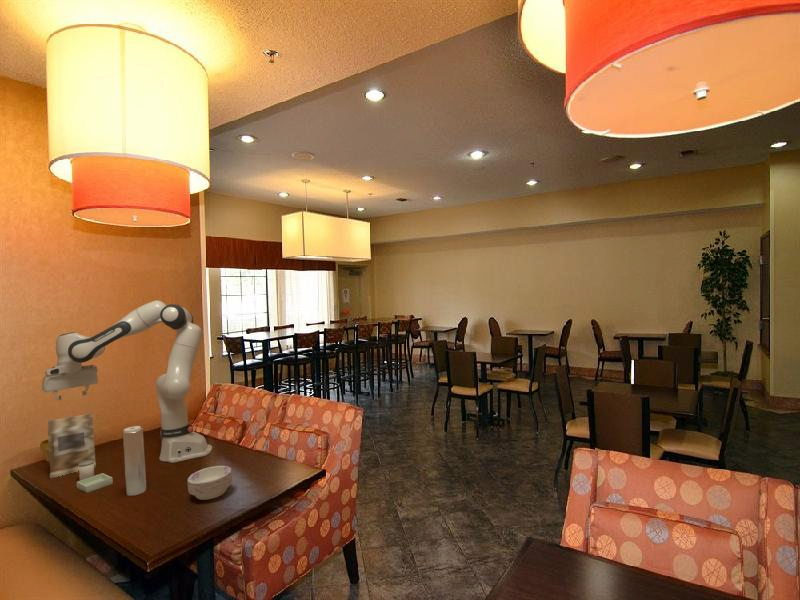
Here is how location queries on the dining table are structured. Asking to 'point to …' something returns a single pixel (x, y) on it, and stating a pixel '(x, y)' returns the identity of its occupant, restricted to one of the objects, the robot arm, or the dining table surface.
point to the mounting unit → (70, 443)
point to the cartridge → (86, 469)
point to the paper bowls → (210, 482)
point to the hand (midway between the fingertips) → (72, 397)
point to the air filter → (134, 460)
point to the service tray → (94, 483)
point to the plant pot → (45, 449)
